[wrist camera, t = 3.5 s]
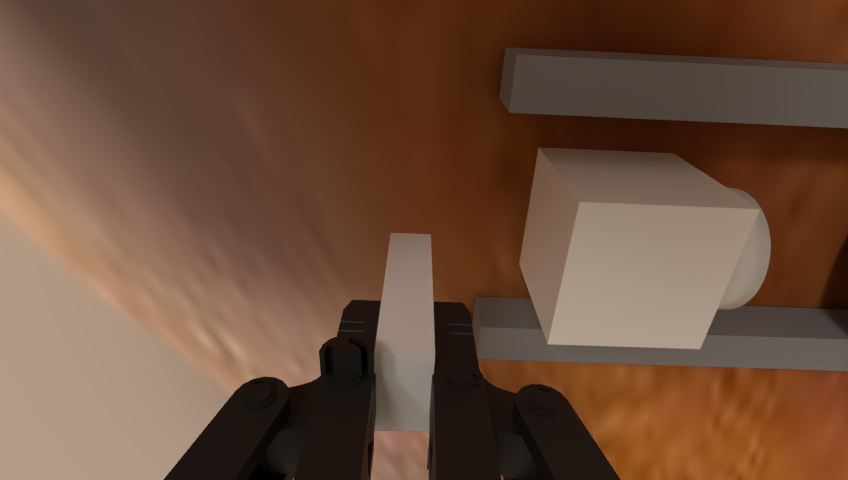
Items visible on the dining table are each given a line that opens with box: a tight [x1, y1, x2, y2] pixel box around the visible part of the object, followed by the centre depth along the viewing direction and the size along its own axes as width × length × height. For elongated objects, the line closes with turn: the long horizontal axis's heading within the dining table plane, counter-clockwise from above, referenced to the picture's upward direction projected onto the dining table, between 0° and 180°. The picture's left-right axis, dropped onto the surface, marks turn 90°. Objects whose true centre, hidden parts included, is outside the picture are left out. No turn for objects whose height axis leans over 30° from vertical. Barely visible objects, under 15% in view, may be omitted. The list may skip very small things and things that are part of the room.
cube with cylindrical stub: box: [519, 147, 771, 349], centre depth 19 cm, size 6×8×6 cm
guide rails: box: [472, 47, 848, 371], centre depth 21 cm, size 14×20×2 cm
